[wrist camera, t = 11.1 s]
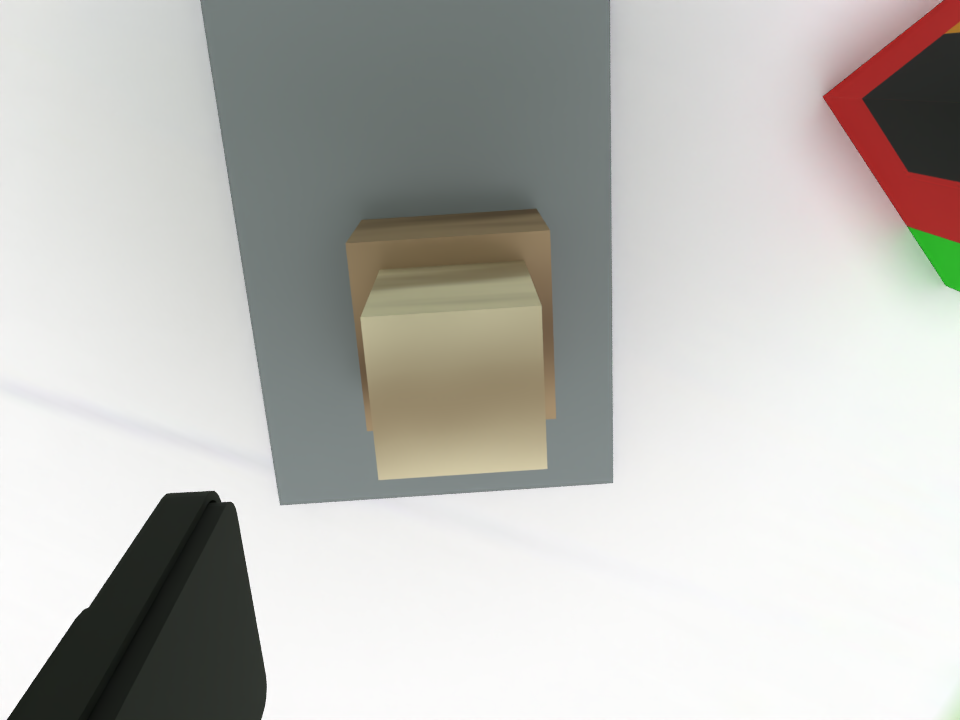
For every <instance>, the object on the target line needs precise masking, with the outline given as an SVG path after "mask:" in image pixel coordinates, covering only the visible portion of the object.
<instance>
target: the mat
mask: <svg viewBox="0 0 960 720" xmlns="http://www.w3.org/2000/svg"><path fill="white" fill-rule="evenodd" d="M200 1H201V8H202V14H203V20H204V26H205V33H206V39H207V45H208V52H209V58H210V64H211V71H212V77H213V83H214V90H215V96H216V102H217V109H218V115H219V121H220V128H221V134H222V140H223V147H224V153H225V159H226V166H227V172H228V178H229V184H230V191H231V197H232V203H233V210H234V216H235V222H236V229H237V235H238V241H239V248H240V254H241V260H242V267H243V273H244V279H245V286H246V292H247V298H248V305H249V311H250V317H251V324H252V330H253V336H254V343H255V349H256V355H257V361H258V368H259V374H260V380H261V387H262V393H263V399H264V406H265V412H266V418H267V425H268V431H269V437H270V444H271V450H272V456H273V463H274V469H275V475H276V482H277V488H278V494H279V501H280V505H292V504H307V503H322V502H337V501H352V500H367V499H382V498H397V497H412V496H427V495H442V494H456V493H471V492H486V491H501V490H516V489H531V488H546V487H561V486H576V485H591V484H606V483H613V405H612V259H611V114H610V0H200ZM523 209H537V210H538V212H539V214H540V215H541V217H542V218H543V220H544V221H545V223H546V225H547V226H548V228H549V229H550V242H551V273H552V305H553V337H554V368H555V400H556V419H546V442H547V469H539V470H524V471H509V472H494V473H479V474H464V475H449V476H434V477H419V478H404V479H389V480H378V471H377V462H376V453H375V444H374V435H373V431H367V427H366V418H365V409H364V401H363V392H362V383H361V374H360V366H359V357H358V348H357V340H356V331H355V322H354V314H353V305H352V296H351V287H350V279H349V270H348V261H347V253H346V244H345V243H346V242H347V241H348V239H349V238H350V236H351V235H352V233H353V232H354V230H355V229H356V227H357V226H358V224H359V223H360V221H361V220H368V219H383V218H399V217H414V216H430V215H445V214H461V213H476V212H492V211H507V210H523Z"/></svg>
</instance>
